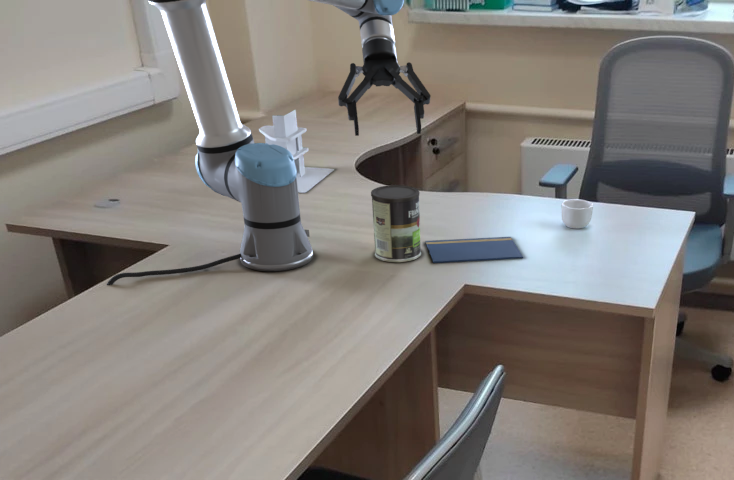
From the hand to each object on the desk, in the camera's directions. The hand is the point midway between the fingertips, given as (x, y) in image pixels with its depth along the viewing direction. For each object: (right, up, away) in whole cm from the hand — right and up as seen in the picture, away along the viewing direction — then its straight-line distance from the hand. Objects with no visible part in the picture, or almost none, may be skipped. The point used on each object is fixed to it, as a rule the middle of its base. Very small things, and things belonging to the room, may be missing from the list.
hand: (388, 131), depth 184 cm
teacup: (+43, -16, +22) cm, 51 cm away
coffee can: (+2, -27, +2) cm, 27 cm away
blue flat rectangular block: (+18, -25, +5) cm, 32 cm away
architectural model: (-37, +3, +51) cm, 63 cm away
